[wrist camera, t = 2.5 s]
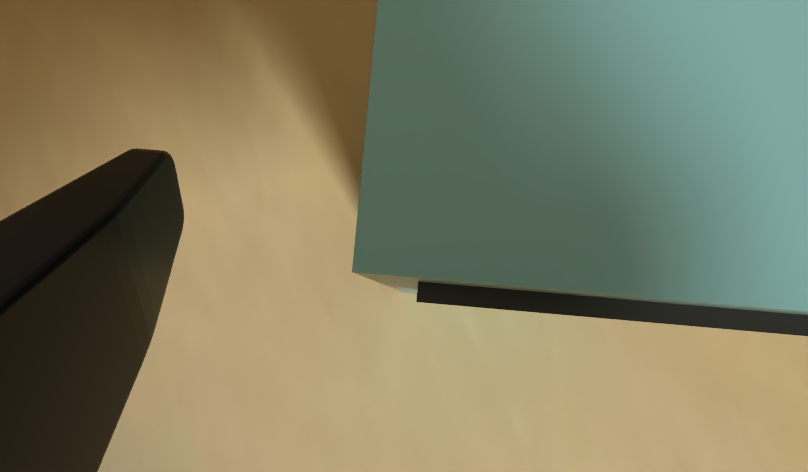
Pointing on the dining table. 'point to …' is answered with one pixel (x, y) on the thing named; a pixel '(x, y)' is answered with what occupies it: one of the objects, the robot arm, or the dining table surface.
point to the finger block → (591, 159)
